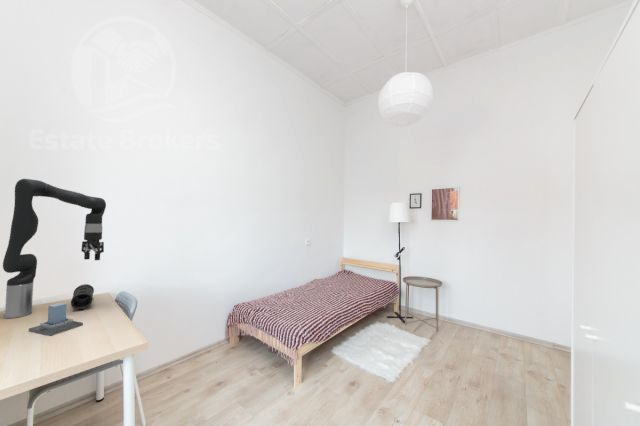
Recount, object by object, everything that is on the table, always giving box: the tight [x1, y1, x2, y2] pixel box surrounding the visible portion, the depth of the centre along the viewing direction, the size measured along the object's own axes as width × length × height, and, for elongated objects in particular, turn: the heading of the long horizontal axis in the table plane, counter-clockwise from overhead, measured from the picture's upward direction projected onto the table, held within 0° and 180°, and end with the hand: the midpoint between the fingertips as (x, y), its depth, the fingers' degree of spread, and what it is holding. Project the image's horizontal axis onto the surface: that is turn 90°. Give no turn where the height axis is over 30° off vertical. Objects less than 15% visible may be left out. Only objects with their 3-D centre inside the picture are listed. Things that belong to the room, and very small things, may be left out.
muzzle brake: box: [70, 284, 95, 311], centre depth 149 cm, size 10×28×10 cm, turn 43°
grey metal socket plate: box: [28, 317, 84, 337], centre depth 117 cm, size 16×12×3 cm
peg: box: [47, 302, 68, 325], centre depth 117 cm, size 4×4×10 cm
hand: (92, 259), depth 137 cm, fingers open, 8 cm apart
